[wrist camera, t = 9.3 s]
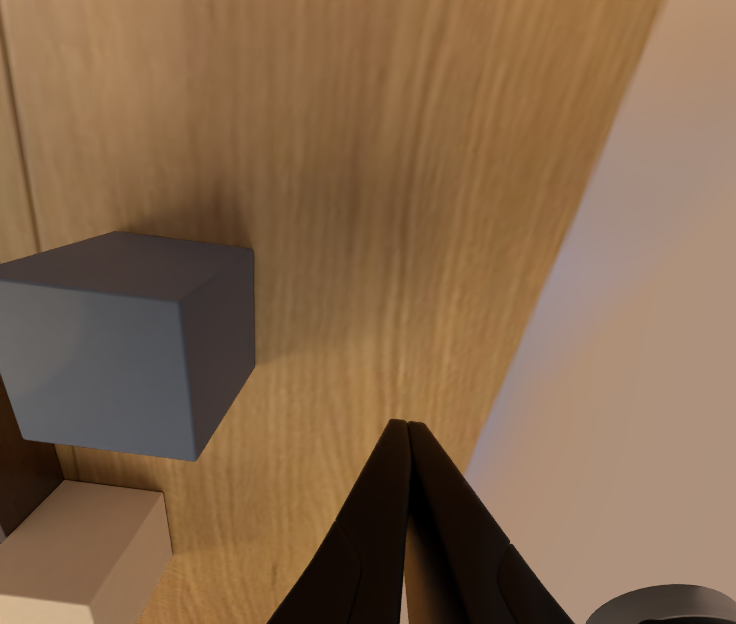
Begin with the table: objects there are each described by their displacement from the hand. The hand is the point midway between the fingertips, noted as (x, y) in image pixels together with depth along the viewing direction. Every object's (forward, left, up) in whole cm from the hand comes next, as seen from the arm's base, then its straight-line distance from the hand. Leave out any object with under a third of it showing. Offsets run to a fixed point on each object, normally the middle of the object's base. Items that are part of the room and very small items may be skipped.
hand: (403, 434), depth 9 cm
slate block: (+8, 0, -6) cm, 10 cm away
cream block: (+13, +13, -6) cm, 19 cm away
